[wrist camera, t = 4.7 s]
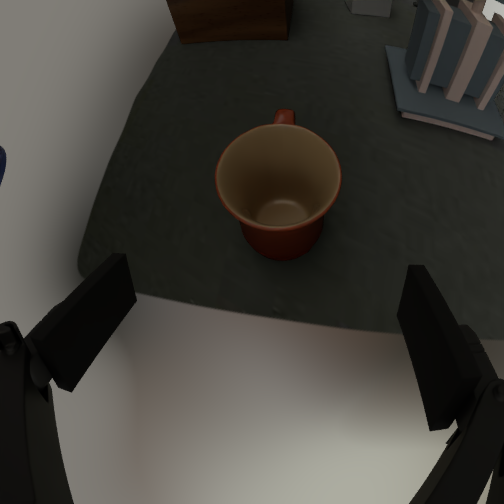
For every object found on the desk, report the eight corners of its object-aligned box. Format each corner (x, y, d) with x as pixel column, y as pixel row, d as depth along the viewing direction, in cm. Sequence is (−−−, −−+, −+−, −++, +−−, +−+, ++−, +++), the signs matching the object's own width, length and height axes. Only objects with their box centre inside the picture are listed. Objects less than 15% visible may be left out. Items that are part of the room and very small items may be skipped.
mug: (325, 276, 29) (341, 235, 19) (231, 267, 30) (203, 225, 20) (329, 166, 32) (339, 98, 23) (248, 161, 34) (233, 94, 24)
